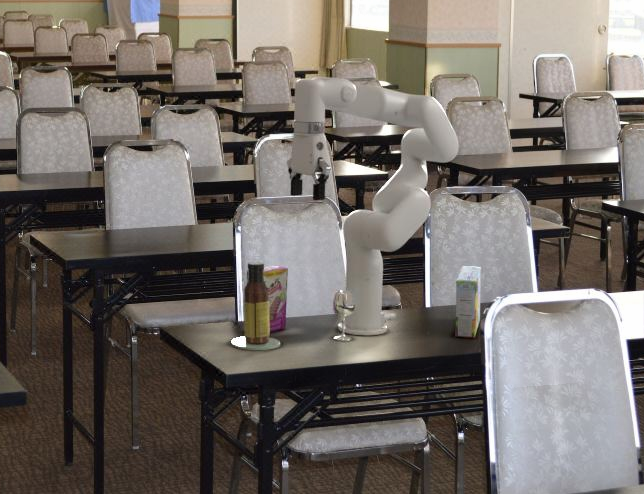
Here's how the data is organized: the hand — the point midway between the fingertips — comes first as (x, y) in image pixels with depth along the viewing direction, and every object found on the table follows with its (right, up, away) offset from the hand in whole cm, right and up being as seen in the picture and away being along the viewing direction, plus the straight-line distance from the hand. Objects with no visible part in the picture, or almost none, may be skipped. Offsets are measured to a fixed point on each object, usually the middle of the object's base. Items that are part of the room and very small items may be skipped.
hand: (307, 197), depth 307 cm
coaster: (-13, -36, -1) cm, 39 cm away
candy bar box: (-10, -35, +14) cm, 39 cm away
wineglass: (+10, -36, +7) cm, 38 cm away
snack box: (+44, -35, +20) cm, 60 cm away
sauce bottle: (-13, -36, -1) cm, 38 cm away
